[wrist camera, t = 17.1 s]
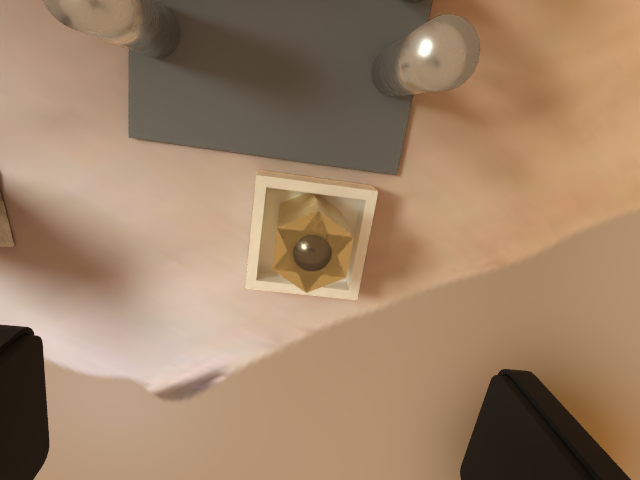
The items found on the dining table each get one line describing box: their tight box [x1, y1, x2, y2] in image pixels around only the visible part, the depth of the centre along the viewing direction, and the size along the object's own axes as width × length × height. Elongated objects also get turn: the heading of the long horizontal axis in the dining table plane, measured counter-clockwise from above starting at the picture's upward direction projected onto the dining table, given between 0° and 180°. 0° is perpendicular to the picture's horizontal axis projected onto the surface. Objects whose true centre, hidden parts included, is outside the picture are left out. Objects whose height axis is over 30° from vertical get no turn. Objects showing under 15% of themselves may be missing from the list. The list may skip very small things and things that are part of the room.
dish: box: [245, 170, 378, 300], centre depth 28 cm, size 8×8×2 cm
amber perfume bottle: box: [272, 193, 353, 293], centre depth 25 cm, size 4×5×6 cm
